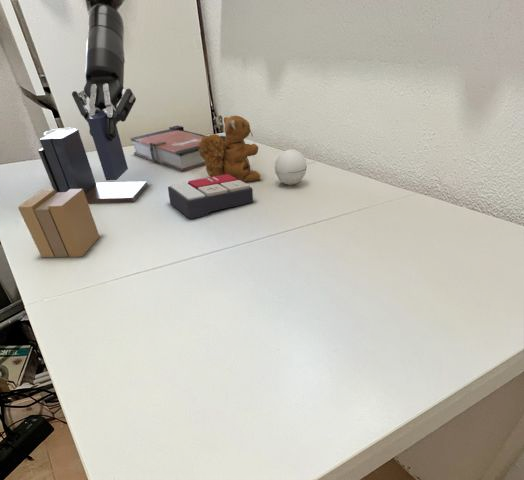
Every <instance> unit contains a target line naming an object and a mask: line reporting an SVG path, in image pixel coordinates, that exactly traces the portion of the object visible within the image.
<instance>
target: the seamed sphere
mask: <svg viewBox="0 0 524 480" xmlns="http://www.w3.org/2000/svg"><path fill="white" fill-rule="evenodd" d="M314 163H315V161H312V162H308V163H307V159H306V158H305V156H304V155H303V154H302V152H300V151H298V150H297V149H293V148H292V149H286V150H284V151H282V152H281V153H280V154H279V155H278V156H277V158H276V160H275V164H274V173H275V175H276V177H277V179H278V180H279V181H280V182H281V183H282V184H285V185H289V186H293V185H296V184H298V183H300V182H301V181H302V180H303V179H304V177H305V176H306V173H307V168H308V167H307V165H309V164H314Z"/></svg>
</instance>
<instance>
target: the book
mask: <svg viewBox="0 0 524 480" xmlns="http://www.w3.org/2000/svg"><path fill="white" fill-rule="evenodd" d="M204 136H205V135H204V134H201V133H197V132H193V131H189V130H185V129H184V126H182V125H174V126H170V127H168V129H164V130H160V131H155V132H151V133H147V134H143V135H138V136H133V137H130V138H129V139H130V142H133V147H134V152H133V155H134V156H135V157H139V158H142V159H145V160H148V161H151V162H153V163H154V164H159V165H162V166H165V167H168V168H171V169H174V170H177V171H180V172H182V173H183V172H186V171H189V170H192V169H196V168H199V167H202V166H206V165H205V163H204V161H205V160H204V159H203V158H202V157H201V156H200V154H199V152H198V151H199V149H200V146H199V145H198V144H197V143H199V142H200V141H201V138H202V137H204ZM219 136H220V137H221V138H222V139H223V140H224V141H225V137H226V135H219Z"/></svg>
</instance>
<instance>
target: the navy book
mask: <svg viewBox="0 0 524 480" xmlns="http://www.w3.org/2000/svg"><path fill="white" fill-rule="evenodd" d="M106 118H108V117H107V110H106V109H105V110H103V111H101V112H99V113H97V114H95V115H93V116H91V117H89V118H87V121H88V122H87V121H86V122H87V124H88V127H89V132H90V131H91V134H92V136H91V137H92V140H93V143H94V146H95V150H96V153H97V156H98V160H99V162H100V163H99V164H100V166H101V169H102V172H103V175H104V179H105V181H117V180H118V179H119V178H120V177H122V175H123V174H125V172H126V171H128V170H129V168H128V164H127V163H128V162H127V160H126V156H125V152H124V149H123V145H122V141H121V138H120V134H119V130H118V126H117V125H116V136H115V138H114V140H113V141H110V140H109V139H108V138H107V137H106Z"/></svg>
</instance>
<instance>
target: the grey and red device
mask: <svg viewBox="0 0 524 480" xmlns="http://www.w3.org/2000/svg"><path fill="white" fill-rule="evenodd" d="M167 190H168V197H169V198H168V199H169V203H170V204H171V205H172V206H173V207H174V208H175V209H176V210H178V211H179V212H181V214H183V215H184V216H185V217H187V218H188V219H190V220H191V219H197V218H201V217H206V216H208V215H209V213H210V212H215V211H219V210H223V209H229V208H233V207H237V206H243V205H247V204H251V203H253V202H254V193H253V192H254V191H253V190H254V189H253V187H251V186H250V184H248V183H247V182H242V181H240V180H238V179H237V178H235V177H233V176H231V175H229V174H225V175H219V176H214V177H210V176H209V177H203V178H202V177H201V178H197V179H192V180H188V182H180V183H175V184H170V185H169V186H167Z"/></svg>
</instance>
